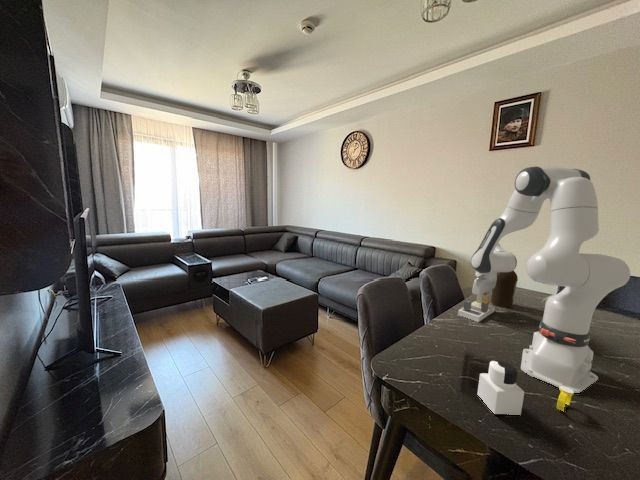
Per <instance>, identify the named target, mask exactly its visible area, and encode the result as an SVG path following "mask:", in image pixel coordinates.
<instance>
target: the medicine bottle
mask: <svg viewBox="0 0 640 480" xmlns="http://www.w3.org/2000/svg"><path fill="white" fill-rule="evenodd" d="M518 374H519V373H518V370H517V369H516V367H515V366H514V365H512V364H510V363H509V362H506V361H503V360H499V359H494V360H493V359H492V360H491V361H490V362H489V365H488V373H485V372H482V373H479V376H478V377H479V378H478V379H479V380H478V386H477V393H476V394H477V395H478V396H479V397H480V398H481V399H482V400H483V402H484V403H485V404H486V405H487V407H488V408H489V409H490V410H491V411H492V412H493V413H494V414H507V415H508V414H509V415H520V416H521V415H522V409H523V403H524V396H525V391H524V390H523V389H522V388H521V387H520V386H519V385H518V384H517V379H518ZM477 395H476V396H477ZM478 396H477V397H478ZM479 397H478V398H479ZM480 398H479V399H480ZM481 399H480V400H481ZM483 402H482V403H483ZM484 403H483V404H484ZM485 404H484V405H485ZM486 405H485V406H486ZM487 407H486V408H487ZM488 408H487V409H488ZM489 409H488V410H489ZM490 410H489V411H490ZM491 411H490V412H491ZM492 412H491V413H492Z"/></svg>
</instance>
